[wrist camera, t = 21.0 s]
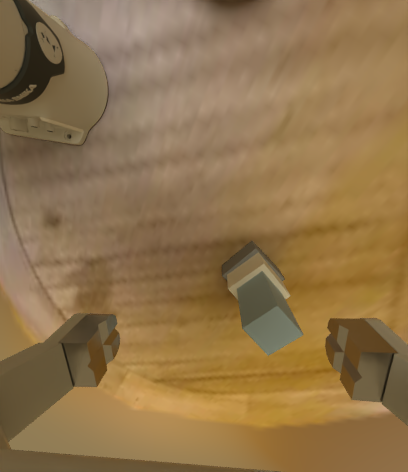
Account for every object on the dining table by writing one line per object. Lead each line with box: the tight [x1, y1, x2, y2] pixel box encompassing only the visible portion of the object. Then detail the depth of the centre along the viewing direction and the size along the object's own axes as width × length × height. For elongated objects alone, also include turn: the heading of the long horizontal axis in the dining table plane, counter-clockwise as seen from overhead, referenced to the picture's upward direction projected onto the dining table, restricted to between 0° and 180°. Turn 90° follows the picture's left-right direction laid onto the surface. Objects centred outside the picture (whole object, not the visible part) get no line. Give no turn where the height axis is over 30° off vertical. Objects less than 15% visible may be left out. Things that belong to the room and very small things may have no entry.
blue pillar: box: [237, 271, 303, 356], centre depth 29 cm, size 5×5×9 cm
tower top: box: [227, 252, 290, 300], centre depth 36 cm, size 7×7×5 cm
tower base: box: [222, 241, 285, 281], centre depth 40 cm, size 8×8×5 cm
